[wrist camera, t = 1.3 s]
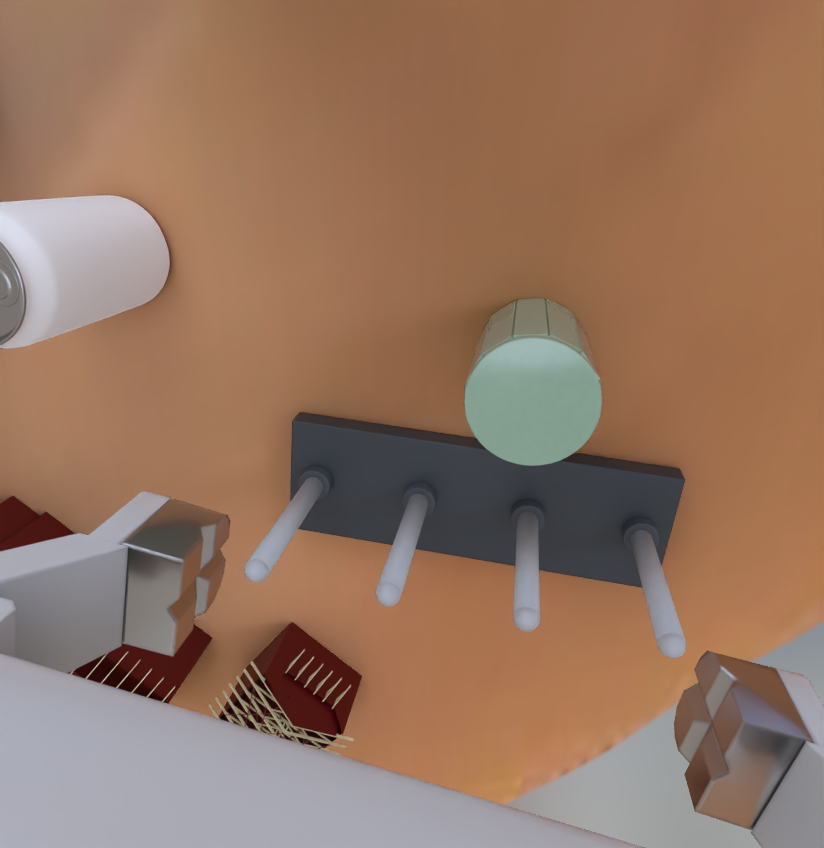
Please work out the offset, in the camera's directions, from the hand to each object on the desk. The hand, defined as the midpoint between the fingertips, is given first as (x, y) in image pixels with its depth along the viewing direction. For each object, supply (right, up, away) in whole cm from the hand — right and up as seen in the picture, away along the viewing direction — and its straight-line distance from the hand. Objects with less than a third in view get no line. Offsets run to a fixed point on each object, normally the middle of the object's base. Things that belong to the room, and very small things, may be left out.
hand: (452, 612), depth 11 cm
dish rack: (+3, -1, +30) cm, 30 cm away
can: (-18, +13, +29) cm, 36 cm away
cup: (+6, +7, +26) cm, 28 cm away
